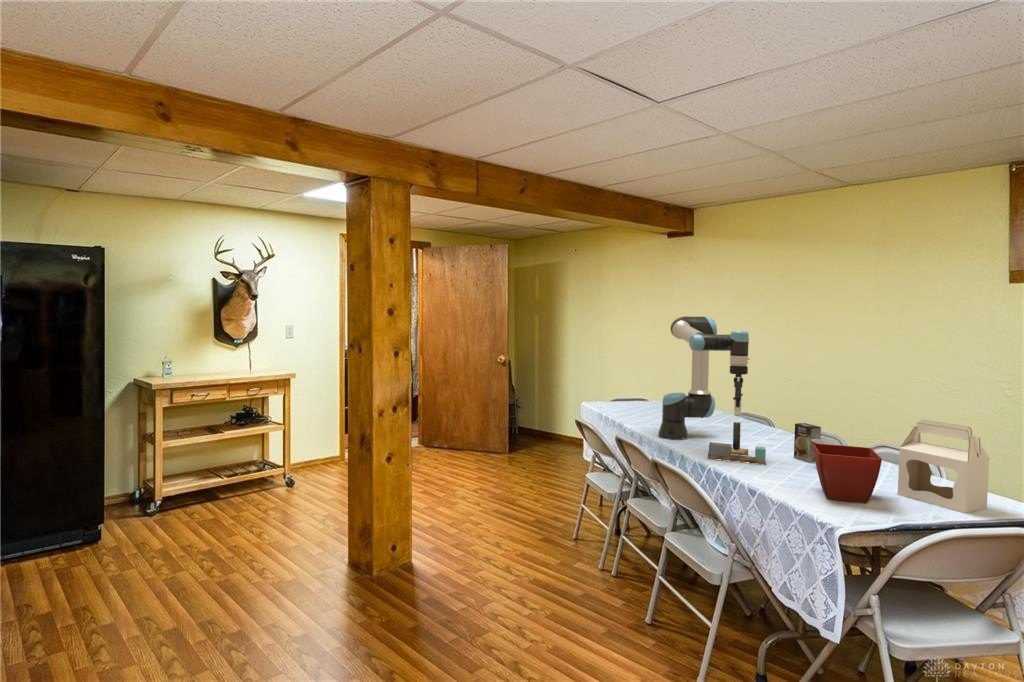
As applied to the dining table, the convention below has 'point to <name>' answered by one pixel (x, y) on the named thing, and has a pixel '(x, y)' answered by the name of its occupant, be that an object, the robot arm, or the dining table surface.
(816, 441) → the plastic cup
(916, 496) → the gable box
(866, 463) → the plant pot
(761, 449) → the teal socket block
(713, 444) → the grey rectangular block
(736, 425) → the slip tube
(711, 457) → the walnut board
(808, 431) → the coffee box
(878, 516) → the dining table surface
